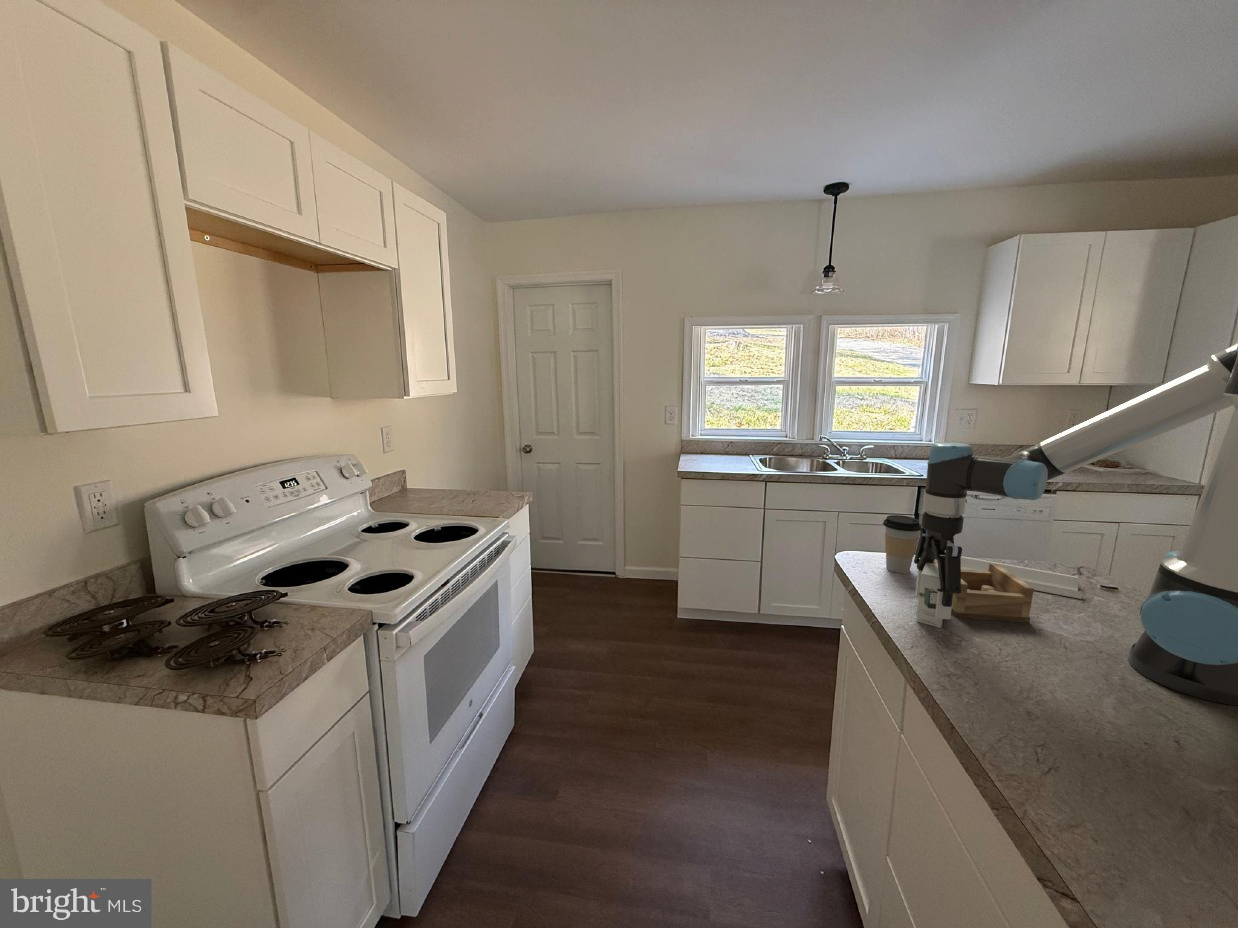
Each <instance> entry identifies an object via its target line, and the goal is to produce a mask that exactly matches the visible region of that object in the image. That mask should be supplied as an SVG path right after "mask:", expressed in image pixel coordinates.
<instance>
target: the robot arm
mask: <svg viewBox="0 0 1238 928" xmlns="http://www.w3.org/2000/svg"><path fill="white" fill-rule="evenodd" d="M1232 406H1233V407H1234V409H1233V412H1232V415H1231V417H1230V419H1229V423H1228V425H1227V428H1226V431H1225V432H1224V433H1225V434H1224V436H1223V439H1222V441H1221V444H1220V446H1219V448H1218V449H1219V450H1218V452H1217V454H1216V457H1215V459H1214V462H1213V464H1212V467H1211V470H1210V472H1209V475H1208V478H1207V481H1206V483H1205V486H1204V488H1203V491H1202V494H1201V497H1200V499H1199V501H1198V505H1197V506H1196V510H1195V512H1194V515H1193V517H1192V519H1191V523H1190V525H1189V528H1188V530H1187V533H1186V536H1185V538H1184V540H1183V543H1182V545H1181V546H1182V547H1181V549H1180V550H1178V551H1177V550H1174V551H1169V552H1166V553H1165V555H1164V557H1163V559H1162V560H1161V562H1160V564H1159V567H1158V569H1157V572H1156V574H1155V576H1154V580H1153V582H1152V585H1151V587H1150V588H1151V589H1150V590H1149V593H1148V596H1147V597H1146V600H1144V601H1143V602H1142V603H1141V605H1140V609H1139V616H1140V622H1141V625H1142V628H1143V629H1144V631H1143V632H1142V634H1141V635H1140V637H1139V639H1138V640H1136V642H1134V643H1133V644H1132V645H1131V646H1130V648H1129V651H1128V656H1127V660H1128V661H1127V662H1128V664H1129V665H1130V666H1131V667H1132V668H1133V669H1134V670H1136V671H1137V672H1138V673H1140V674H1141V675H1143V676H1144V677H1146V678H1147V679H1150V680H1151V681H1152V682H1153V681H1154V682H1156V683H1158V684H1159V685H1162V686H1165V687H1166V688H1169V689H1171V690H1174V691H1177V692H1179V693H1183V694H1185V695H1189V696H1191V697H1194V698H1197V699H1201V700H1206V701H1209V702H1214V703H1219V704H1225V705H1233V706H1238V341H1237V342H1235V343H1234V344H1233V343H1232V345H1230V346H1228V347H1226V348H1224V349H1221V350H1220V351H1217V352H1216V353H1212V354H1211V355H1210V357H1209V359H1208V361H1207V363H1206V364H1205V365H1203V366H1201V367H1199V368H1196V369H1194V370H1192V371H1190V372H1188V373H1186V374H1183V375H1182V376H1179V377H1177V378H1175V379H1173V380H1170V381H1168V382H1167V383H1164V384H1162V385H1160V386H1157V387H1156V388H1153V389H1152V390H1150V391H1148V392H1147V391H1146V392H1145V393H1143V394H1141V395H1138V396H1136V397H1134V398H1131V399H1130V400H1127V401H1126V402H1123V403H1122V404H1119V405H1117V406H1115V407H1113V408H1111V409H1109V410H1107V411H1104V412H1102V413H1101V414H1098V415H1096V416H1093V417H1092V418H1090V419H1088V420H1085V421H1083V422H1081V423H1079V424H1077V425H1075V426H1072V427H1071V428H1068V429H1066V430H1064V431H1061V432H1060V433H1058V434H1055V435H1054V436H1051V437H1049V438H1047V439H1045V440H1042V441H1041V442H1039V443H1037V444H1034V445H1032V446H1029V447H1027V448H1026V449H1023V450H1021V451H1018V452H1016V453H1014V454H1012V455H1009V456H1005V457H997V456H996V457H994V456H984V455H978V454H974V451H973V446H972V445H971V444H968V443H962V442H951V441H950V442H949V441H947V442H945V441H944V442H943V441H941V442H937V443H934V444H932V445H931V447H930V450H929V451H930V452H929V456H928V461H927V468H926V469H927V470H926V481H925V489H924V493H923V503H922V509H923V510H924V511H923V512H922V515H921V523H920V524H921V529H920V530H919V537H918V541H917V545H916V549H915V554H914V557H913V558H914V559H913V563H914V564H915V565H916V569H917V576H916V584H915V594H914V595H915V597H916V598H919V591H920V583H921V573H922V571H923V569H924V566H925V564H926V563H933V562H934V560H935V559H936V560H937V561H938V570H939V578H940V586H941V589H937V591H938V595H937V603H936V611H935V617H936V618H937V619H943V620H951V616H952V614H951V609H952V601H953V594H954V593H957V594H960V593H961V556H962V553H963V548H962V546H959V545H958V546H956V545H955V540H954V539H955V536H956V535H960V534H961V533H962V532H963V526H964V521H965V520H964V519H965V518H964V516H963V515H964V514H965V511H966V504H967V502H968V499H967V497H968V491H969V492H975V493H976V492H977V493H982V494H983V493H984V494H989V495H992V496H993V495H995V496H1001V497H1005V498H1012V499H1014V500H1028V501H1036V500H1039V499H1040V498H1041V497H1042V495H1043V494H1044V492H1045V490H1046V486H1047V482H1048V481H1050V480H1053V479H1055V478H1059V477H1060V476H1063V475H1064V474H1067V473H1070V472H1072V471H1075V470H1077V469H1079V468H1081V467H1084V466H1087V465H1089V464H1092V463H1095V462H1097V461H1099V460H1102V459H1104V458H1107V457H1109V456H1112V455H1114V454H1116V453H1118V452H1121V451H1124V450H1127V449H1129V448H1131V447H1134V446H1136V445H1138V444H1141V443H1144V442H1147V441H1148V440H1151V439H1154V438H1155V437H1156V438H1157V437H1158V436H1161V435H1163V434H1166V433H1167V432H1170V431H1173V430H1175V429H1178V428H1180V427H1182V426H1183V427H1184V426H1185V425H1189V424H1190V423H1193V422H1195V421H1197V420H1200V419H1202V418H1206V417H1208V416H1210V415H1212V414H1214V413H1215V414H1216V413H1217V412H1220V411H1222V410H1225V409H1228V408H1230V407H1232ZM940 555H945V556H940Z"/></svg>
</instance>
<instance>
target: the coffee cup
mask: <svg viewBox="0 0 1238 928" xmlns="http://www.w3.org/2000/svg"><path fill="white" fill-rule="evenodd" d="M882 525H883V526H884V527H885V532H884V542H885V543H884V548H885V549H884V551H885V564H886V567H885V568H886V569H887V570H888V571H890V572H892V573H895V574H909V573H910V571H911V567H912V563H913V560H914V559H913V558H915V554H916V550H917V546H918V542H919V535H920V529H921V527H922V526H921V523H920V520H919V519H918V518H914V517H911V516H908V515H901V514H900V515H899V514H893V515H887V516H886V519H883V522H882Z"/></svg>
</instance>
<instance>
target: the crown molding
mask: <svg viewBox="0 0 1238 928" xmlns="http://www.w3.org/2000/svg"><path fill="white" fill-rule="evenodd" d="M940 556H945V555H940ZM935 560H936V559H935ZM989 563H992V564H997V565H999V566H1000V567H1002V568H1003V569H1005V570H1007V571H1008V572H1010V573H1011V574H1013V575H1014V576H1016V577H1017V578H1019V579H1020V580H1022V581H1023V582H1025V583H1026V584H1028V585H1029V586H1031V587H1032V588H1034V591H1036V592H1037V591H1038V592H1042V593H1047V594H1051V595H1052V594H1053V595H1056V596H1057V595H1058V596H1063V597H1069V598H1071V599H1079V600H1082V595H1083V594H1082V591H1081V590H1079V577H1078V576H1076V575H1070V574H1063V573H1058V572H1055V571H1054V572H1053V571H1049V570H1041V569H1036V568H1032V567H1031V568H1030V567H1024V566H1019V565H1013V564H1008V563H1001V562H996V561H990V560H984V559H980V558H974V557H968V556H963V555H961V569H964V570H982V571H988V570H989Z"/></svg>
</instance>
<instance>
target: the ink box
mask: <svg viewBox="0 0 1238 928" xmlns="http://www.w3.org/2000/svg"><path fill="white" fill-rule="evenodd" d="M937 589H941V586H940V578H939V570H938V564H933V563H926V564H925V566H924V569H923V571H922V573H921V583H920V591H919V597H918V601H917V610H916V611H917V612H916V617H915V621H916V622H918V623H921V624H925V625H929V626H932V627H935V628H939V629H940V628H942V627H943V621H944V619H937V618H936V617H935V611H936V603H937V595H938V591H937Z"/></svg>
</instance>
